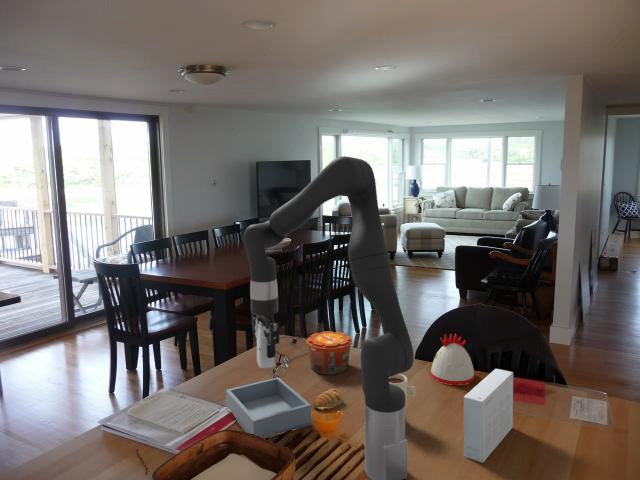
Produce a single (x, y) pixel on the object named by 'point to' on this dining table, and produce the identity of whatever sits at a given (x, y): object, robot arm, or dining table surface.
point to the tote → (268, 407)
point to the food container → (329, 352)
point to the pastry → (329, 399)
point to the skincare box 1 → (263, 349)
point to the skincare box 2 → (488, 414)
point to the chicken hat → (452, 363)
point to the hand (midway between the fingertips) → (266, 353)
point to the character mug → (402, 385)
